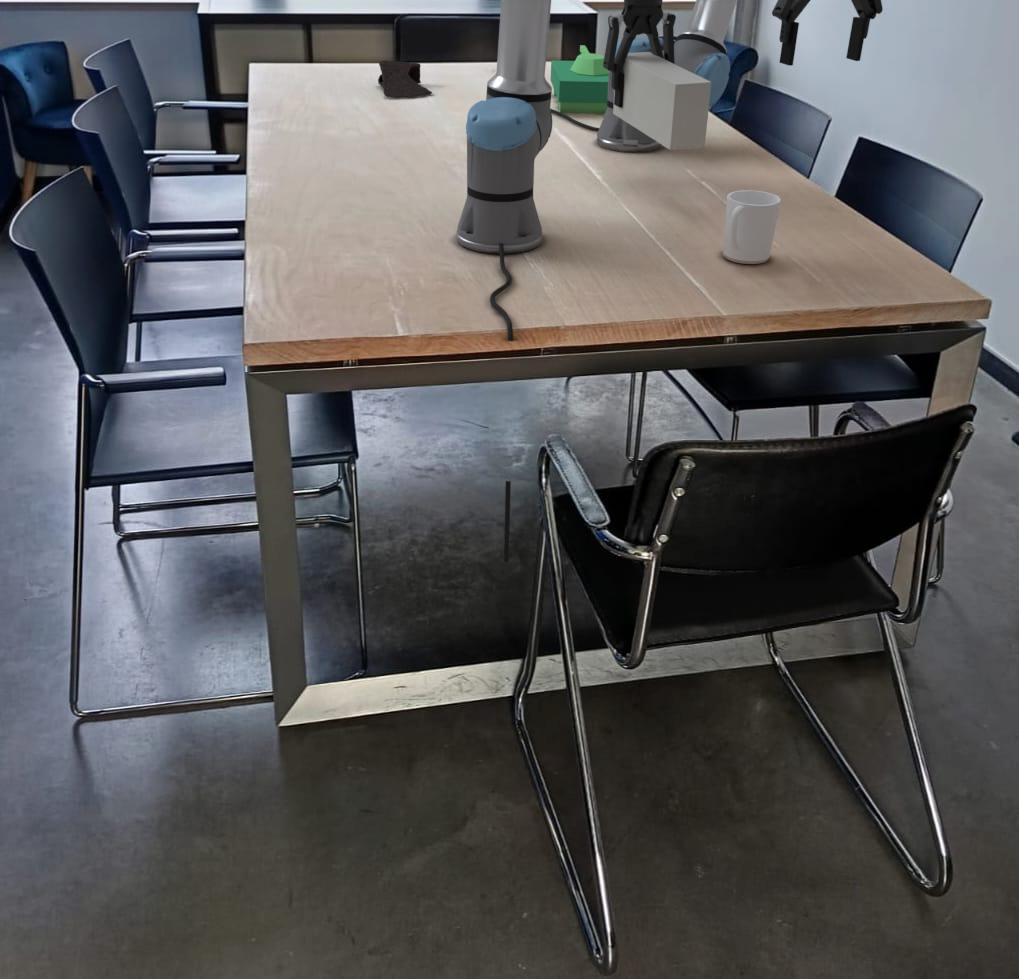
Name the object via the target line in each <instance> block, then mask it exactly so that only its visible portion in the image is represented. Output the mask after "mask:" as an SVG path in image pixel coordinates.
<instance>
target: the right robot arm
mask: <svg viewBox="0 0 1019 979" xmlns="http://www.w3.org/2000/svg"><path fill="white" fill-rule="evenodd" d="M737 2H738V0H695V3H694V6H693V9H692V12H691V15H690V18H689V21H688V23H687V26H686V30H685V31H682V32H680V33H679V34H677V36H676V37H675V35H674V33H675V32H674V27H675V22H676V18H677V17H676V14H674V13H671V12H664V10H663V6H662V5H663V0H623V9H622V11H621V14H617V15H609V16H608V17H607V22H608V24H607V25H608V33H607V39H606V45H605V52H604V56H605V57H604V63H603V67H604V68H605V69H607V70H609V79H608V96H607V109H606V112H605V114H603V118H602V121H601V123H600V126H599V127H596V126H592V125H588V124H586V123H583V122H581V121H578V120H577V119H574V118H572V117H571V116H569V115H567V114H566V113H560V112H559V110H556V109H553V108H550V109H551V114H554V115H556V116H559V117H560V118H563V119H565V120H567V121H569V122H570V123H572V124H574V125H576V126H579V127H581V128H584V129H586V130H589V131H592V132H593V131H594V132H597V133H596V145H598V146H600V147H602V148H603V149H607V150H611V151H615V152H625V153H644V152H645V153H647V152H653V151H656V150H658V149H661V148H662V147H663V145H662V144H660V143H658V142H657V141H655V140H654V139H652V138H651V137H649V136H647V135H646V134H644V133H643V132H641V131H640V130H638V129H636V128H635V127H633V126H632V125H630V124H629V123H627V122H625V121H624V120H622V119H621V118H619V117H618V116H616V115H614V114H613V106H614V105H616V106H618V107H623V92H624V76H625V74H624V73H622V72H621V70H622V68H623V65H624V63H625V58H627V55H628V53H637V52H650V53H652V54H654V55H656V56H659V57H661V58H663V59H665V60H667V61H669V62H671V63H673V64H675V65H677V66H679V67H681V68H683V69H685V70H688V71H690V72H692V73H694V74H696V75H698V76H700V77H702V78H704V79H706V80H708V81H710V82H711V91H710V100H709V108H712V106H714V105H715V104H716V103H717V102H719V101H720V99H721V97H722V96H723V94H724V92H725V90H726V88H727V85H728V82H729V79H730V75H729V74H730V72H731V61H730V58H729V56H728V55H727V53H728V50H727V47H726V45H725V43H724V41H725V38H726V35H727V32H728V29H729V26H730V23H731V20H732V17H733V15H734V11H735V8H736V6H737ZM660 22H661V23H662V37H660V36H659V30H658V25H659V24H660ZM622 23H623V24H624V25H625V28H624V31H623V34H622V38H621V40H619V36H620V27H621V26H622ZM640 35H646V37H637V36H640ZM614 90H615V97H614Z"/></svg>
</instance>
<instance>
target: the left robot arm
mask: <svg viewBox="0 0 1019 979" xmlns="http://www.w3.org/2000/svg"><path fill="white" fill-rule="evenodd" d="M810 1H811V0H777V1H776V3H775V5H774V7H773V9H772V12H771V15H772V16H773V17H775V18H777V19H778V20H780V21H781V25H780V31H779V32H780V33H779V42H780V43H781V49H780V55H779V64H782V65H785V66H794V60H795V54H796V46H797V40H798V33H799V28H800V27H799V25H800V22H799V21H798V22H797V19H798V17H800V15H801V13H802V12H803V11H804V10H805V8H806V7H807V5H808V4H809V3H810ZM850 2H851V3H852V5H853V7H854V10H855V11H856V14H857V16H853V17H852V22H851V28H850V34H849V40H848V46H847V51H846V57H845V59H847V60H851V61H855V62H860V61H861V59H862V58H861V57H862V52H863V46H864V40H866V39H867V37H868V35H869V29H870V23H871V20H875V18H876V17H877V14H878V15H880V14H881V13H883V3H882V0H851V1H850ZM551 9H552V0H501V2H500V16H499V27H498V28H499V30H498V45H497V57H496V58H497V60H496V73H495V74H494V75H493V76H492V77H490V79H488V81H486V82H487V83H486V96H485V100H480V101H477V102H475V103H474V104H473V105H472V106H471V107H470V108H469V109H468V111H467V119H466V123H465V130H466V131H465V133H466V192H467V193H466V198H465V202H464V205H463V209H462V211H461V214H460V218H459V220H458V224H457V228H456V241H457V243H458V244H459V245H461V246H462V247H464V248H466V249H468V250H470V251H475V252H479V253H486V254H497V255H499V266H500V269H501V271H502V273H503V274H504V276H505V277H506V281H505V283H504V284H502V285H501V286H500V287H498V288H496V289H495V290H493V291H492V293H491V294H490V296H489V302H490V305H491V306H492V307H493V308H494V309H495V310H496V312H498V313H499V314H500V315H501V316H502V317H503V319H504V321H505V323H506V329H507V341H509V342H513V341H514V329H513V322H512V320H511V317H510V316H509V315H508V313H507V311H506V310H505V309H504V308H502V307H501V306H500V305H499V304H498V303H497V301H496V299H495V298H496V297H497V296H498V295H499V294H500V293H502V292H503V291H505V290H507V289H508V288H509V287H510V285H511V283H512V275H511V274H510V272H509V271H508V268H507V267H506V262H505V255H506V254H507V255H508V254H517V253H524V252H527V251H530V250H533V249H536V248H538V247H539V246H540V245H541V244H542V243H543V229H542V224H541V221H540V220H541V219H540V218H539V214H538V213H539V212H538V210H537V206H536V204H535V199H534V183H535V181H534V180H535V159H536V158H537V156H538V155H539V153H540V152H541V151H543V149H544V148H545V146H546V145H547V144H548V142H549V139H550V138H551V134H552V131H553V115H552V114H553V113H551V109H552V108H551V102H552V91H553V86H552V84H550V83H549V81H548V80H547V79H546V77H545V76H546V66H547V65H546V64H547V54H548V53H547V52H548V42H549V30H550V22H551V20H550V19H551ZM511 483H512V482H511V480H506V481H505V490H504V492H505V493H504V494H505V496H504V535H503V536H504V539H503V540H504V542H503V545H504V546H503V562H504V563H509V562H510V526H511V525H510V524H511V487H512V486H511V485H512V484H511Z"/></svg>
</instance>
